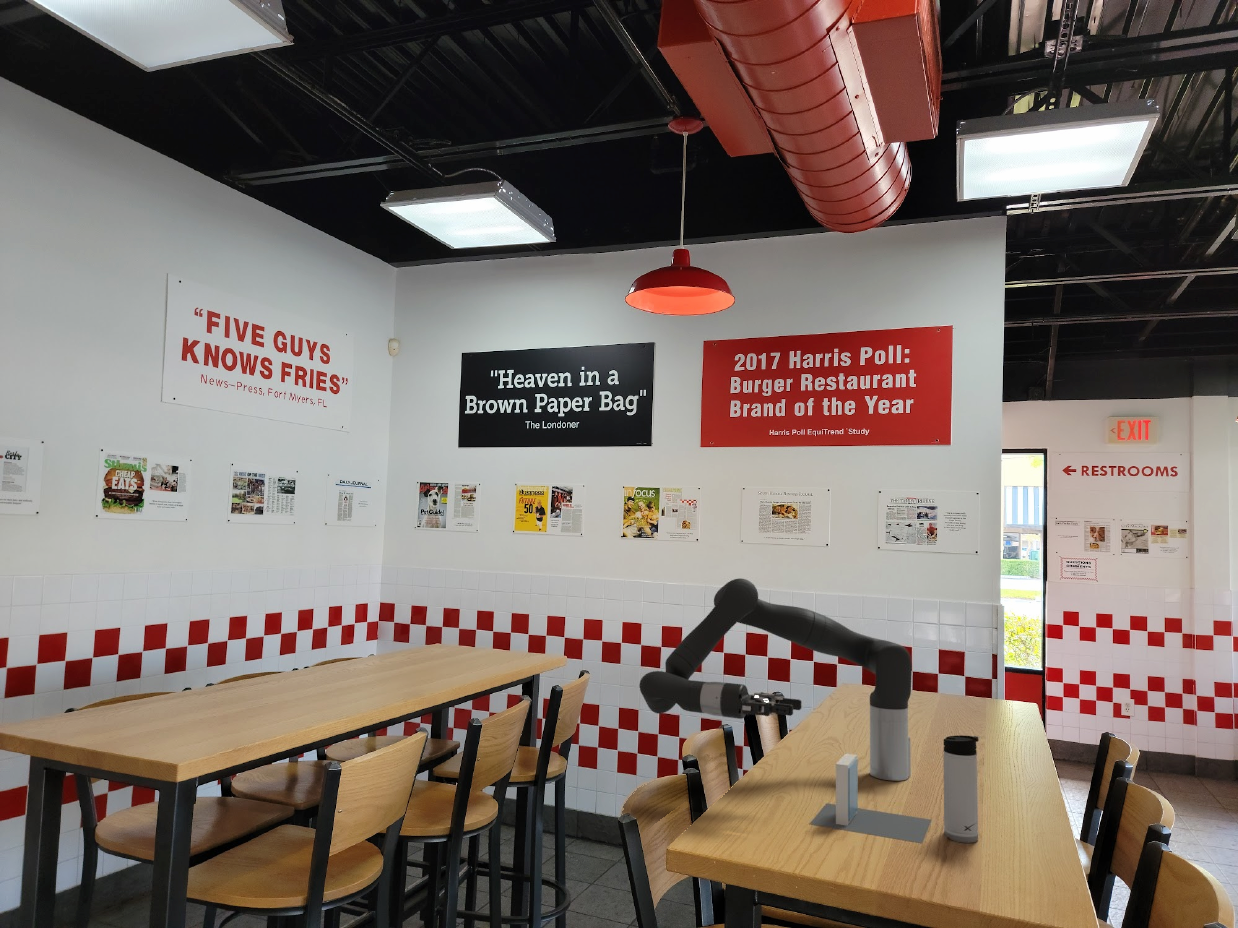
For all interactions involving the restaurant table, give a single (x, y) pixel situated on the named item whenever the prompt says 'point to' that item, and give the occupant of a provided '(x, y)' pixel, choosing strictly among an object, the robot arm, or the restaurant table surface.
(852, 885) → the restaurant table surface
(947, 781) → the travel mug
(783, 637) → the robot arm
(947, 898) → the restaurant table surface
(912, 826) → the mat
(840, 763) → the tile
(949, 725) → the restaurant table surface
